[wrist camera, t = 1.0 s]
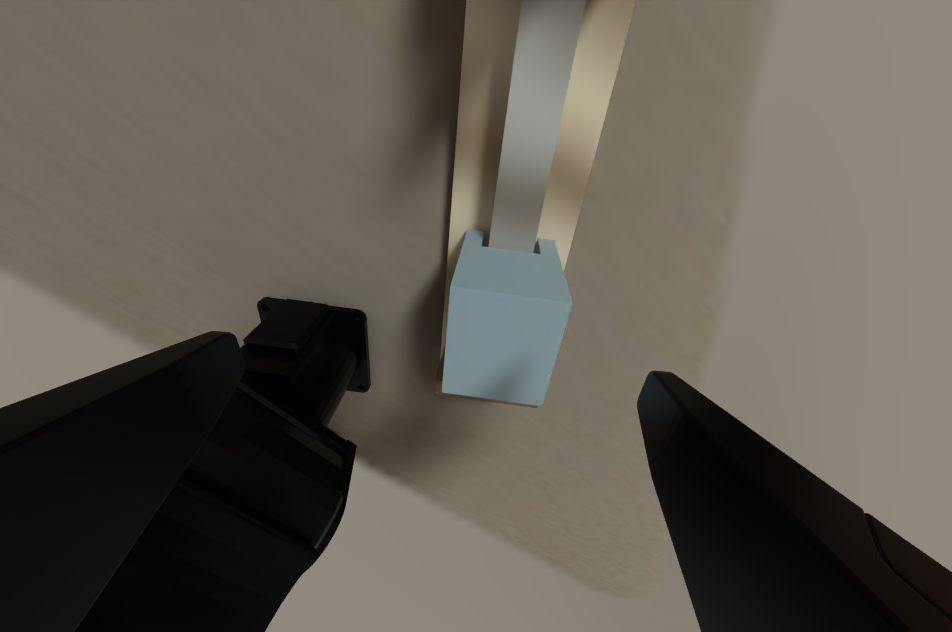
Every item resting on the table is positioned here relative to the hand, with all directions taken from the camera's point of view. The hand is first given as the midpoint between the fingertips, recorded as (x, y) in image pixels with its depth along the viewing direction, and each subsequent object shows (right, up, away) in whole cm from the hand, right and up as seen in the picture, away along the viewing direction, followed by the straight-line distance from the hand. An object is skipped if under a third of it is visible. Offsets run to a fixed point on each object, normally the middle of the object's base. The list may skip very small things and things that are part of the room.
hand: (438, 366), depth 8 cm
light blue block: (+2, +3, +11) cm, 11 cm away
